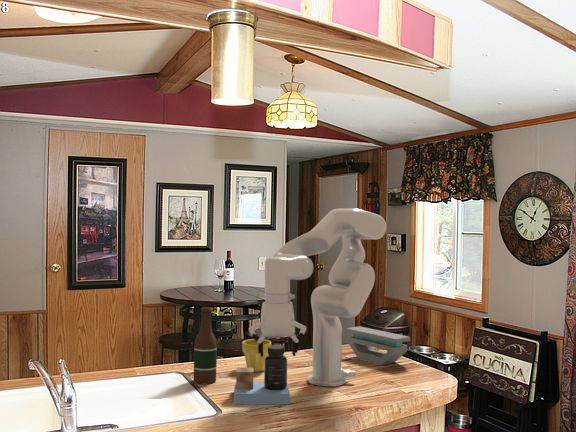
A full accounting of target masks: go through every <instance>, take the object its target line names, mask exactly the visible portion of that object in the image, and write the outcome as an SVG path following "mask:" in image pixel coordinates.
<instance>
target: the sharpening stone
mask: <svg viewBox="0 0 576 432" xmlns="http://www.w3.org/2000/svg"><path fill="white" fill-rule="evenodd" d="M345 332H346V333H347V334H348V333H349V334H352V335H353V336H348V337H347V344H348V345H349V346H350V348H351V349H352V351H353V353H354V355H355V356H356V358H357V359H358V360H360V361H362V362H363V361H364V362H366V363H367V362H368V363H371V364H375V365H379V366H385V365H389V364H394V363H396V362H397V361H398V360H399V359H400V358H401V357H402V356H403V355H404V354H406V353H407V352H408V344H403V343H406V342H407V343H408V342H410V341H411V337H410V336H408V335H403V334H398V333H393V332H388V331H384V330H380V329H376V328H375V329H373V328H370V327H365V326H360V325H359V326H354V327H347V328H346V329H345ZM373 348H374V349H373ZM375 349H379V350H375ZM381 350H383V351H381ZM385 351H386V352H385Z"/></svg>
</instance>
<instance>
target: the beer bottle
mask: <svg viewBox="0 0 576 432" xmlns="http://www.w3.org/2000/svg"><path fill="white" fill-rule="evenodd" d="M200 311H201V319H200V329H199V332H198V334H197V335H196V338H195V340H194V347H193V348H194V349H193V382H194V383H195V384H197V385H211V384H214V383H216V381H217V362H218V360H217V359H218V358H217V356H218V344H217V339H216V336H215V334H214V333H213V329H212V328H213V327H212V312H213V309H212V307H211V306H203V307H201V310H200Z"/></svg>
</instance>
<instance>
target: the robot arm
mask: <svg viewBox="0 0 576 432" xmlns="http://www.w3.org/2000/svg"><path fill="white" fill-rule="evenodd" d="M386 232H387V223H386V219H384V217H383V216H382V215H380V214H376V213H374V212H371V211H367V210H364V209H359V208H335V209H331V210H330V211H329V212H327V214H326V215H325V216H324V217H323V218H322V219H321V220H320V221H319V222H318V223H317V224H316V225H315V226H314V227H313V228H312V229H311V230H310V231H308V232H306V233H305V232H304V233H303V234H302V235H300V236H298V237H296V238H293V239H291V240H289V241H288V242H286V243H285V244H283V245H282V246H281V247H280V248H279V249H278V250H277V252H275V253H274V254H273V256H270V257H267V258H266V259H265V260H264V261H265V262H264V301H263V302H262V303H261V310H260V311H261V312H260V321H259V322H257V323H255V324H254V325H251V326H249V327H248V331H249V334H250V336H251V338H252V339H255V340H256V341H257V342H258V353H261V357H262V356H263V342H262V341H263V340H266V339H265V338H286V337H287V338H288V337H290V338H291V339H292V341H291V344H292V345H291V348H292V349H291V350H292V351H291V353H292V357H296V354H297V353H298V344H299V341H300V340H301V339H303V337H304V335H305V333H306V331H307V329H308V328H307V326H306V325H304V324H302V323H300V322H298V321H296V320H295V311H294V305H293V302H292V301H291V300H295V298H296V294H293V293H291V280H297V281H301V280H302V281H303V280H307V279H308V278H310V277H311V275H312V274H313V273H314V263H313V261H312V259H311V258H309V256H310V257H311V256H315V255H319V254H322V253H325V252H327V251H329V250H330V249H331V248H332V247H333V246H334V245H335V244H336V242H337V241H338V240H339V239H340V238H341V239H342V248H341V250H340V253H339V254H338V257H337V258H336V260H335V262H334V263H333V264H332V267H331V269H330V271H329V273H328V281H329V282H328V283H329V284H330V285H320V286H317V287H316V288H315V289H314V290H313V291H312V293H311V296H310V304H311V310H312V311H311V312H312V319H313V322H312V323H313V334H312V335H313V336H312V371H311V374H310V375H308V376H307V382H308V383H309V384H311V385H314V386H319V387H339V386H343V385H344V384H345V383H347V380H346V377H350V378H356V376H357V375H356V374H357V373H356V371H355V370H350V369H344V368H343V367H342V352H343V351H342V345H343V343H342V342H343V325H342V322H341V320H340V318H345V319H354V318H355V317H357V316H358V315H359V314H360V312H361V311H362V309H363V307H364V305H365V304H366V301H367V300H368V298H369V296H370V294H371V292H372V289H373V288H374V284H375V281H376V273H375V270H374V268H373V266H371V264H369V263H366V262H364V261H365V260H366V251H365V249H364V247H363V244H362V241H361V240H373V241H374V240H379V239H381V238H383V237H384V236H385V234H386ZM259 328H260V335H258V334H257V333H256V332H255V331H256V330H257V329H259ZM296 328H297V329H300V331H299V333H297V335H296V334H295V332H296Z"/></svg>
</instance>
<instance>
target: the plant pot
mask: <svg viewBox="0 0 576 432" xmlns="http://www.w3.org/2000/svg"><path fill="white" fill-rule="evenodd" d="M262 342H263V356H262V357H261V353H258V342H257V341H256V340H255V339H254V338H251V339H245V340H243V341H242V344H241V345H242V346H241V347H242V350H241V351H242V352H243V354H244V358H245V363H246V368H253V371H254V372H258V373H259V372H264V361H265V357H266V356H268V355H269V354H268V347H269V346H272V341H271V340H269V339H264V340H263V341H262Z"/></svg>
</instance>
